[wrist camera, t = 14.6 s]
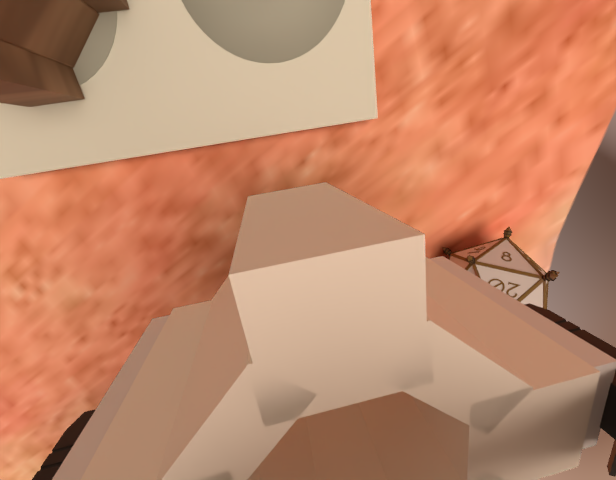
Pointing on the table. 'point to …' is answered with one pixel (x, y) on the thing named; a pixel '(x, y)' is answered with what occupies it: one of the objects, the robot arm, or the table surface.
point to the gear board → (200, 81)
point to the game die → (506, 269)
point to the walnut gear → (45, 47)
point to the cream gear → (346, 365)
